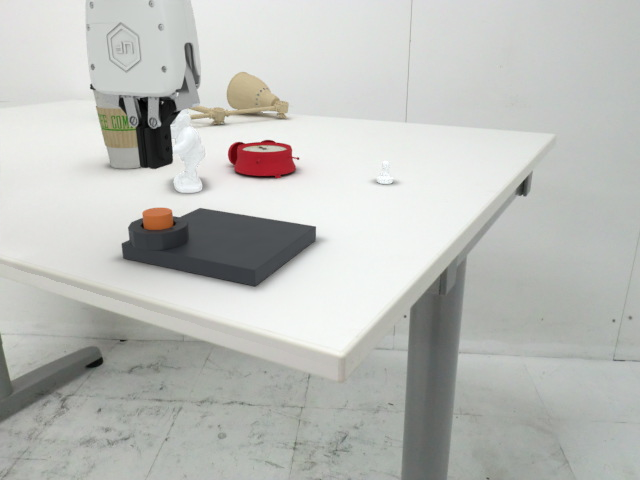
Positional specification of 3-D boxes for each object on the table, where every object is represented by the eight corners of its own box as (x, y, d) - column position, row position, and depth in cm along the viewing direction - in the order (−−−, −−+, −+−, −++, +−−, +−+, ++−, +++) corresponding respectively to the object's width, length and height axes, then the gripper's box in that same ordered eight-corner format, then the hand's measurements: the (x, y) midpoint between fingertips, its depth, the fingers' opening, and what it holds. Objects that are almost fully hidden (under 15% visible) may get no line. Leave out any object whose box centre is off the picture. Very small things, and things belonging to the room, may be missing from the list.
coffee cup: (90, 170, 95) (78, 77, 90) (112, 157, 104) (102, 73, 99) (148, 171, 95) (139, 78, 90) (165, 159, 104) (158, 74, 99)
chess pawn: (389, 185, 89) (390, 163, 88) (374, 182, 90) (375, 161, 89) (395, 181, 92) (396, 160, 90) (380, 179, 93) (381, 158, 91)
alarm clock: (249, 159, 88) (218, 123, 99) (246, 195, 91) (218, 156, 102) (309, 154, 93) (273, 120, 104) (305, 188, 96) (271, 152, 107)
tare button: (137, 229, 59) (136, 213, 58) (156, 221, 61) (155, 205, 61) (161, 234, 58) (159, 217, 57) (179, 225, 60) (178, 209, 60)
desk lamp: (97, 65, 137) (242, 104, 126) (181, 43, 166) (305, 73, 155) (101, 124, 145) (238, 165, 134) (181, 93, 173) (299, 125, 162)
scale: (119, 259, 59) (116, 228, 58) (200, 220, 72) (199, 193, 70) (253, 288, 53) (251, 253, 52) (316, 240, 66) (316, 211, 64)
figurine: (161, 179, 91) (155, 102, 86) (203, 177, 92) (199, 101, 88) (164, 194, 82) (157, 110, 78) (209, 191, 84) (205, 109, 80)
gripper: (41, -36, 50) (72, 166, 57) (178, -45, 45) (196, 181, 51) (102, -29, 57) (125, 152, 63) (230, -36, 51) (240, 164, 58)
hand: (157, 165), depth 57 cm, fingers closed
